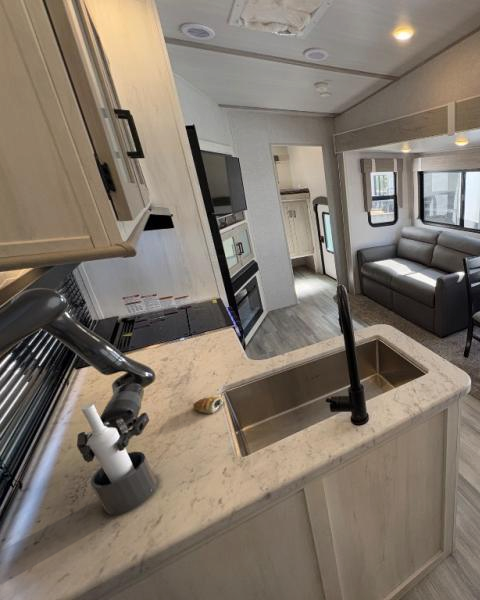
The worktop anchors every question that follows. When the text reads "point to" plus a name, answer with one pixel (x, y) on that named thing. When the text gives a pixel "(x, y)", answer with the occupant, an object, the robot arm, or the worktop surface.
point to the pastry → (208, 404)
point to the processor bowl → (125, 486)
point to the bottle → (107, 447)
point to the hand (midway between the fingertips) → (104, 453)
